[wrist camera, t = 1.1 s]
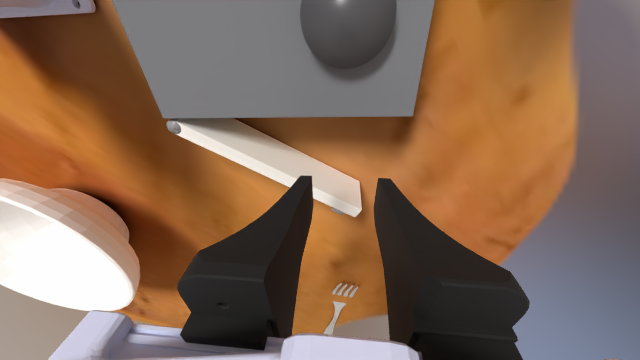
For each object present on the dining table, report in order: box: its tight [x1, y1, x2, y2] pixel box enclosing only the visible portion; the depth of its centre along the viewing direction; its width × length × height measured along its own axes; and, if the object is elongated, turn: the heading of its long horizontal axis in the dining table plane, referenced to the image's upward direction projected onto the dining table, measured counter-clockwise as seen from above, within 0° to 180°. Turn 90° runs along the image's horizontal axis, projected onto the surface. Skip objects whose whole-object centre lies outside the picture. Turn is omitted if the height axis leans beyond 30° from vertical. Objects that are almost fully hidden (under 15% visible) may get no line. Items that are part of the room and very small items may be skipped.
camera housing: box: [112, 0, 435, 118], centre depth 13 cm, size 16×10×5 cm, turn 92°
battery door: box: [167, 118, 362, 217], centre depth 19 cm, size 16×2×4 cm, turn 62°
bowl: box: [0, 178, 140, 311], centre depth 26 cm, size 20×20×7 cm
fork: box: [324, 283, 359, 335], centre depth 38 cm, size 3×24×2 cm, turn 172°
